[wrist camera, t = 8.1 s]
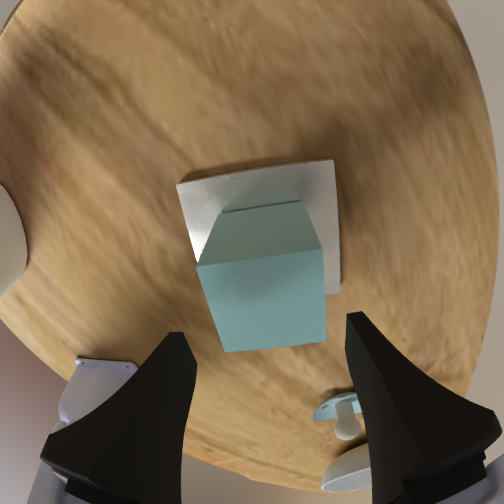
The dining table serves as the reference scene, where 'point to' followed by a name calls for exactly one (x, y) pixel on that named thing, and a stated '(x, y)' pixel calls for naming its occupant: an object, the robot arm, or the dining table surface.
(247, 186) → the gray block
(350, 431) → the pacifier
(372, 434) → the robot arm
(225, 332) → the teal block
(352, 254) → the dining table surface
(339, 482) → the serving bowl
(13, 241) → the white jar
